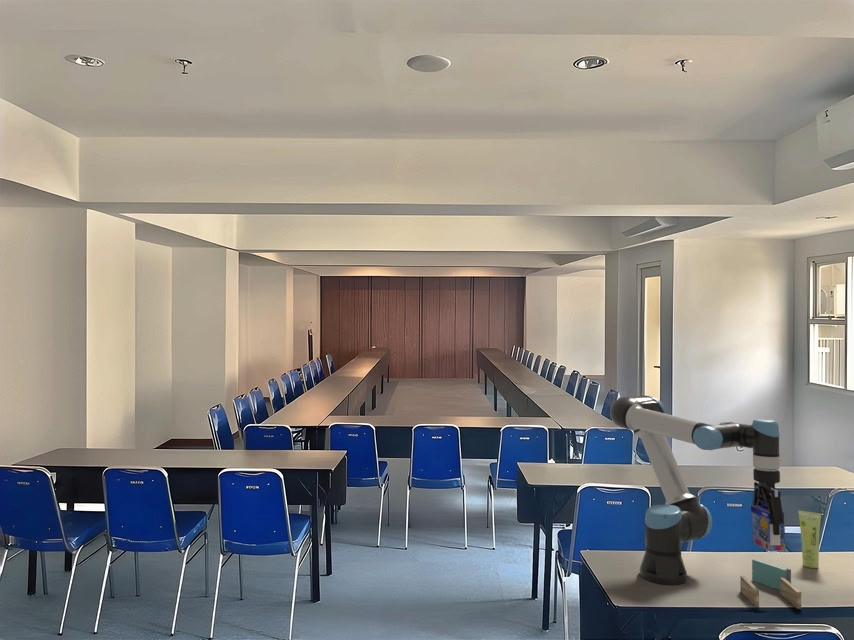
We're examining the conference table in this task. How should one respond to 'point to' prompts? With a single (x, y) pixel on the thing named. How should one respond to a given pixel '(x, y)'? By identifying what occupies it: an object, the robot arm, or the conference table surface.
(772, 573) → the gate
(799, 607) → the pair of wooden planks
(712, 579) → the conference table surface
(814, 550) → the tube
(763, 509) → the ink cartridge box
